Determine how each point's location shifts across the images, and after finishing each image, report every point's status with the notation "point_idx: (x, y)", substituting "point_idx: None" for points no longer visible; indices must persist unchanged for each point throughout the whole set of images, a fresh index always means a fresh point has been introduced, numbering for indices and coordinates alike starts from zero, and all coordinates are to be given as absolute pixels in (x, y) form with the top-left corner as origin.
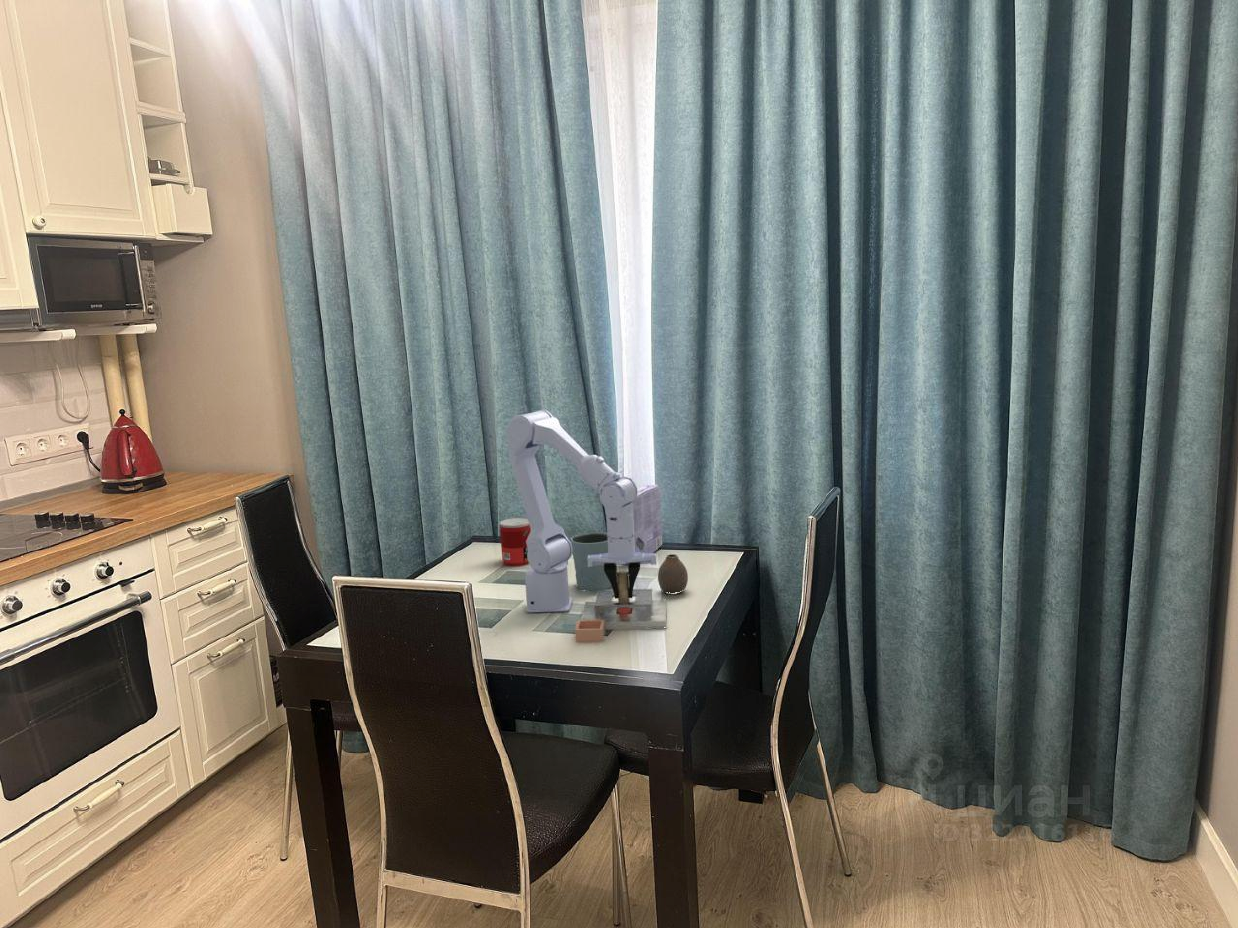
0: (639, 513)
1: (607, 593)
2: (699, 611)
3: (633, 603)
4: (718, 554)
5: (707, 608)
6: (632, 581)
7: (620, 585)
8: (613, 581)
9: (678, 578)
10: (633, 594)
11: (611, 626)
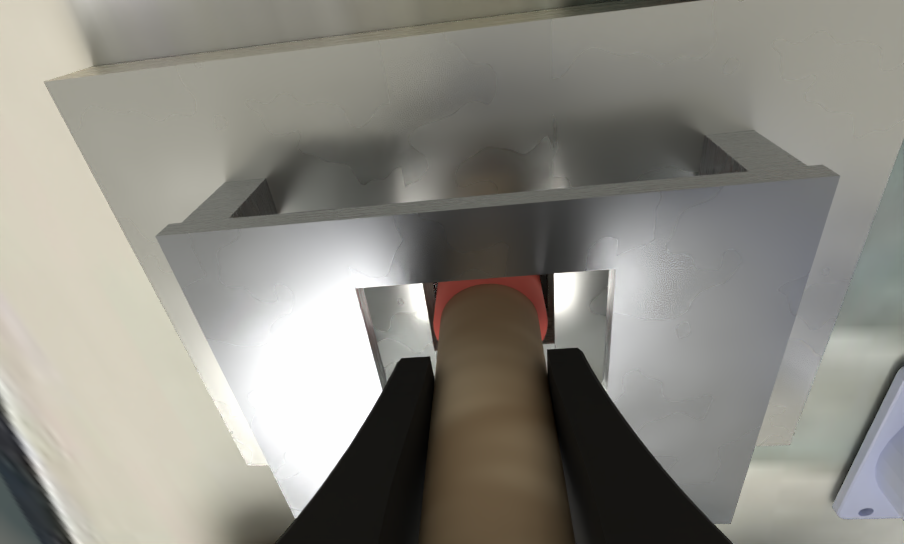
0: None
1: None
2: (42, 373)
3: (361, 257)
4: None
5: (25, 409)
6: (327, 523)
7: (524, 475)
8: (645, 523)
9: None
10: None
11: (579, 7)
